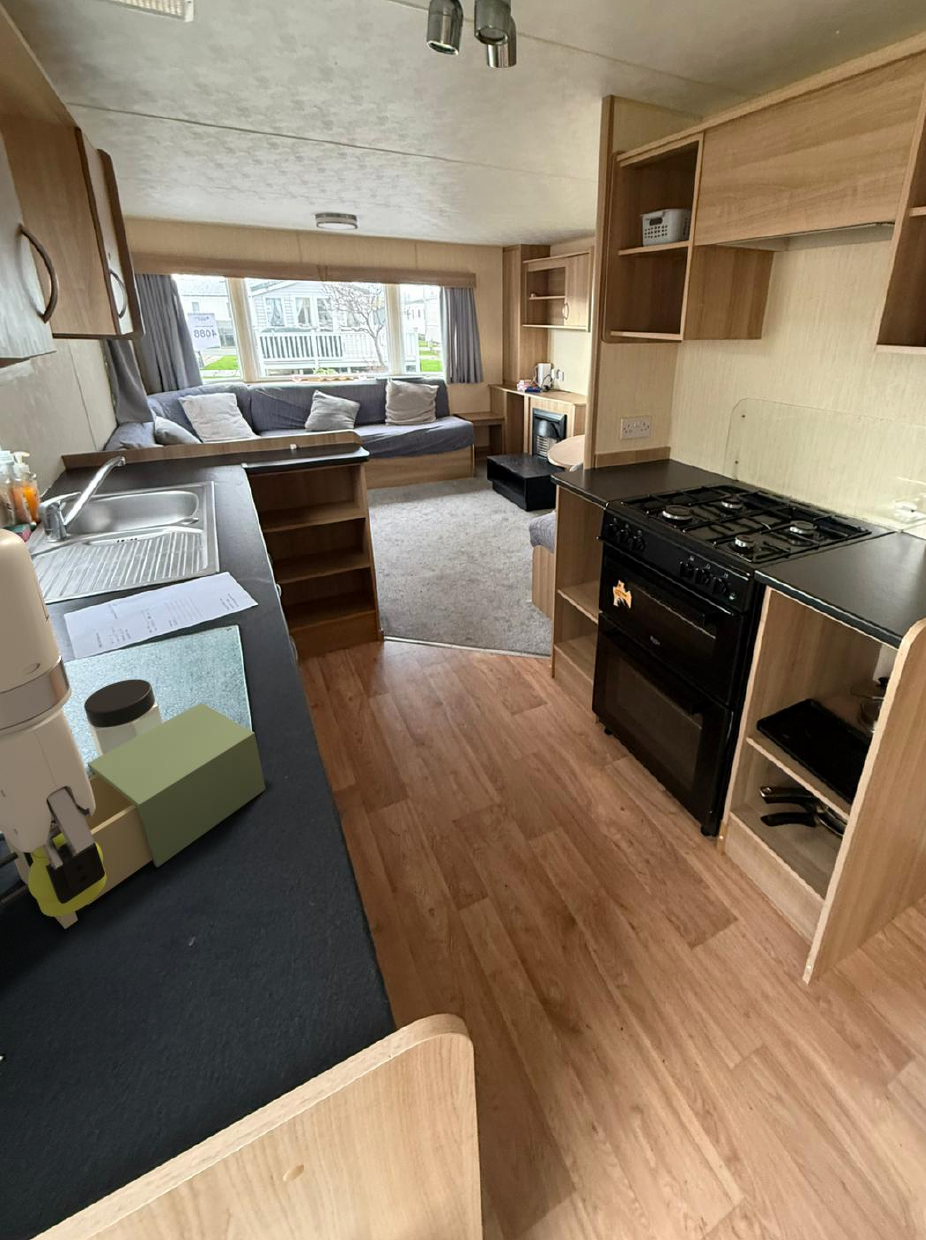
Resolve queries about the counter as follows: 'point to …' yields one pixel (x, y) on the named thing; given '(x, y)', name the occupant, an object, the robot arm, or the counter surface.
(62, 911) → the pear
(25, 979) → the counter surface
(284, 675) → the counter surface
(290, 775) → the counter surface
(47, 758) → the robot arm
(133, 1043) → the counter surface
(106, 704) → the jar
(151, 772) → the cabinet
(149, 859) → the drawer
